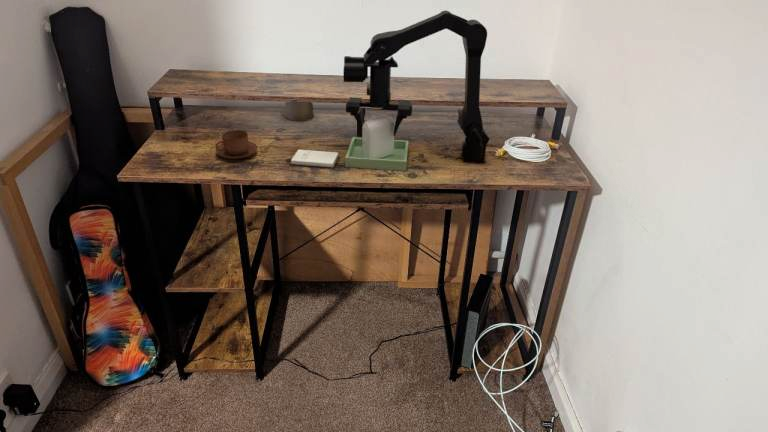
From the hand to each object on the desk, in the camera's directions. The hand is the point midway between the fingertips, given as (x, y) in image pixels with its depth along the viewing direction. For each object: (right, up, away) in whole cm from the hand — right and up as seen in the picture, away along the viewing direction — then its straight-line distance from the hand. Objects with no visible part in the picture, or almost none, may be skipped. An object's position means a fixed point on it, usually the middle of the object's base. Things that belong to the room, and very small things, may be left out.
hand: (378, 134), depth 151 cm
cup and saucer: (-42, -6, +3) cm, 43 cm away
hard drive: (-19, -8, +1) cm, 20 cm away
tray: (0, -6, +4) cm, 7 cm away
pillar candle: (-29, +11, +32) cm, 45 cm away
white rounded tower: (0, -6, +4) cm, 7 cm away
